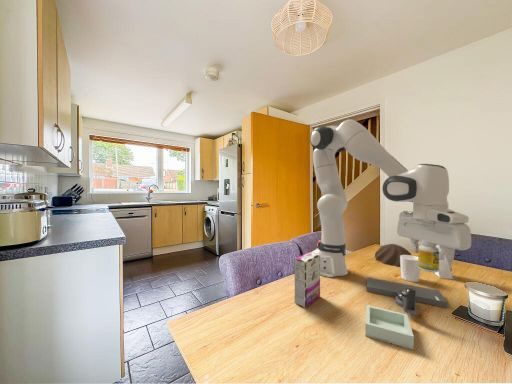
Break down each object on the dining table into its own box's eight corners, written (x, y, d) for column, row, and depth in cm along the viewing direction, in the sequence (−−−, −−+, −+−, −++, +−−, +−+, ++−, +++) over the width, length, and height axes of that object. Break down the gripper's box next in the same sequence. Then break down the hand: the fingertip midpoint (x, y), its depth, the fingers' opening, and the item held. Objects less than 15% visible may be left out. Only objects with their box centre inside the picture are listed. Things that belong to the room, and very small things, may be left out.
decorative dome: (391, 268, 112) (391, 249, 112) (367, 256, 131) (367, 240, 131) (424, 266, 114) (424, 248, 114) (395, 255, 134) (396, 239, 134)
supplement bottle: (421, 265, 73) (422, 237, 73) (441, 270, 69) (442, 240, 69) (415, 268, 70) (415, 239, 70) (435, 274, 66) (436, 243, 66)
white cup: (402, 280, 96) (402, 258, 96) (397, 274, 104) (398, 253, 103) (423, 284, 93) (423, 261, 93) (417, 277, 101) (417, 256, 100)
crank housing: (366, 299, 80) (366, 293, 80) (366, 281, 95) (367, 277, 95) (454, 318, 68) (454, 312, 68) (438, 295, 83) (439, 289, 83)
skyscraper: (460, 282, 96) (462, 220, 95) (438, 279, 98) (439, 219, 98) (450, 275, 104) (451, 217, 103) (430, 272, 106) (431, 216, 106)
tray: (365, 335, 60) (365, 323, 60) (366, 315, 70) (366, 304, 70) (413, 349, 55) (413, 336, 55) (406, 325, 65) (407, 314, 65)
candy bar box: (308, 292, 85) (309, 251, 85) (320, 296, 82) (320, 254, 82) (293, 303, 77) (293, 258, 77) (305, 308, 74) (306, 261, 73)
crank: (396, 294, 80) (397, 274, 80) (413, 297, 78) (413, 276, 78) (401, 313, 68) (402, 289, 68) (421, 317, 66) (421, 293, 66)
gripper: (393, 210, 78) (392, 247, 78) (460, 218, 59) (459, 268, 59) (406, 210, 80) (405, 246, 80) (475, 217, 60) (474, 266, 61)
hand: (428, 256), depth 69 cm, fingers closed on supplement bottle, 5 cm apart
